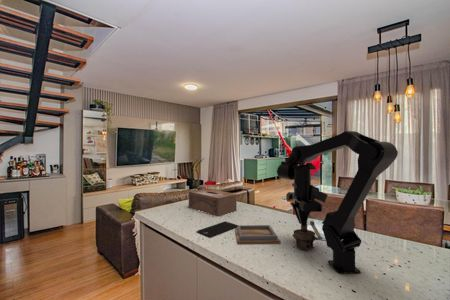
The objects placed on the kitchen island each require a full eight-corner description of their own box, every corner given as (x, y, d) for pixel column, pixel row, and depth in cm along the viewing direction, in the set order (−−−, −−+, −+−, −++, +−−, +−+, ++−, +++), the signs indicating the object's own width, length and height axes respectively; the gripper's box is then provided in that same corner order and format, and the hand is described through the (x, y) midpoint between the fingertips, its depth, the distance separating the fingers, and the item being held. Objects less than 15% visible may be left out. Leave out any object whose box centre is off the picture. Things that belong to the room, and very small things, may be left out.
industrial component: (318, 246, 79) (318, 213, 80) (312, 253, 73) (312, 217, 74) (292, 240, 85) (292, 209, 85) (285, 246, 79) (285, 213, 79)
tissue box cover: (188, 208, 133) (188, 191, 133) (206, 203, 143) (206, 188, 143) (218, 217, 115) (218, 198, 115) (236, 211, 125) (236, 194, 125)
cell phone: (196, 233, 93) (196, 231, 93) (225, 223, 106) (225, 221, 106) (209, 239, 87) (209, 236, 87) (239, 227, 100) (239, 225, 100)
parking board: (280, 243, 82) (280, 241, 82) (237, 244, 81) (237, 241, 81) (271, 229, 96) (271, 227, 96) (234, 230, 95) (234, 228, 95)
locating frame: (277, 240, 83) (277, 236, 83) (240, 240, 82) (240, 236, 82) (269, 228, 95) (269, 225, 95) (237, 228, 94) (237, 225, 94)
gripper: (338, 185, 70) (338, 234, 70) (313, 178, 89) (313, 216, 89) (303, 185, 70) (303, 235, 70) (285, 178, 88) (285, 217, 88)
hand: (302, 224), depth 79 cm, fingers closed on industrial component, 2 cm apart
